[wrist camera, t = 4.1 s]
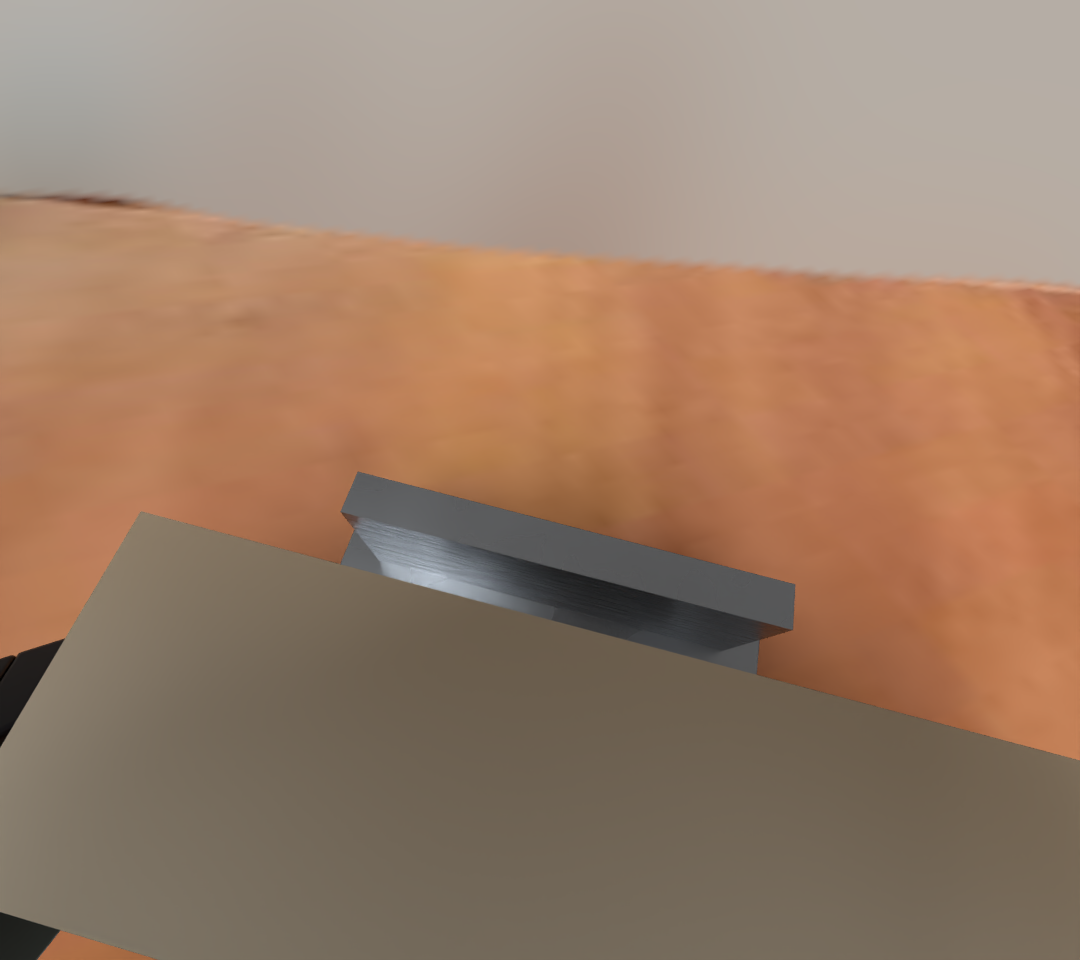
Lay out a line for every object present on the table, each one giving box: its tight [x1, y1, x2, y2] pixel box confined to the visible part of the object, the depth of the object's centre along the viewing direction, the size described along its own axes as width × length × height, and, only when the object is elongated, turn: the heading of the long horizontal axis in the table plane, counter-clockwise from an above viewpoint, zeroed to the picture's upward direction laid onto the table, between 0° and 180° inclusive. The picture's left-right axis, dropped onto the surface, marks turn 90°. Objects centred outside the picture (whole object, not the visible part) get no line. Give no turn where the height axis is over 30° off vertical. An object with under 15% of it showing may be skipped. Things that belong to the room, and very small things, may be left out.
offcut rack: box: [341, 472, 795, 675], centre depth 11 cm, size 17×12×5 cm
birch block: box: [0, 511, 1080, 960], centre depth 8 cm, size 2×6×12 cm, turn 76°
